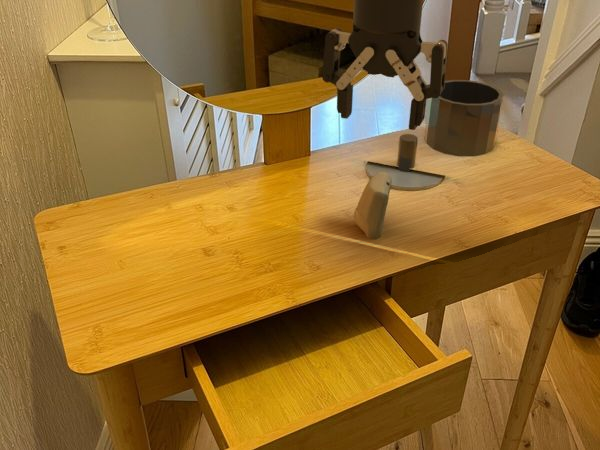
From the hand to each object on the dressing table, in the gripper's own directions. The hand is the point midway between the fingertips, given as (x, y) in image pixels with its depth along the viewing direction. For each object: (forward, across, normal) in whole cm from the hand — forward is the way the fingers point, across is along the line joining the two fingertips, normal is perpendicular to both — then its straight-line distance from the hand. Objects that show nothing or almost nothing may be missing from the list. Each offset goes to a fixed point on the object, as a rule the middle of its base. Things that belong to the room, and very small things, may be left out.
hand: (379, 121), depth 76 cm
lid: (+15, 0, +18) cm, 24 cm away
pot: (+16, +6, +30) cm, 35 cm away
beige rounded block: (+16, 0, 0) cm, 16 cm away
